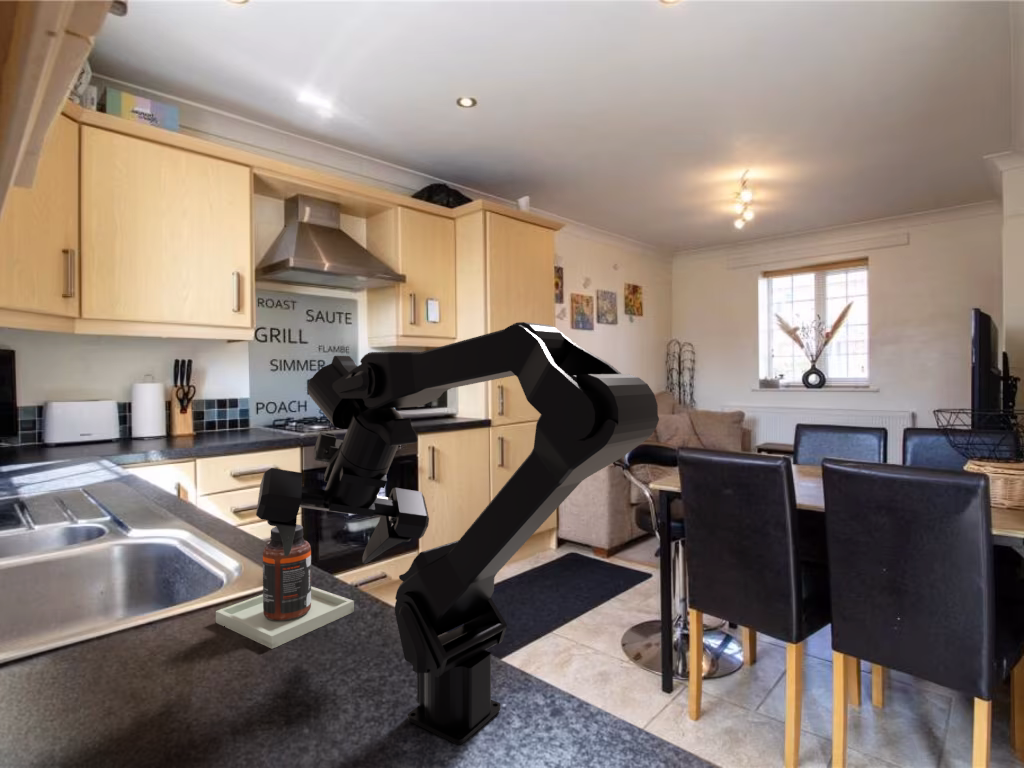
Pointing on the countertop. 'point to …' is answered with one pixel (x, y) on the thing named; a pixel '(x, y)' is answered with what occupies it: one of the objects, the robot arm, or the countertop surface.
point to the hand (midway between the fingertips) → (326, 557)
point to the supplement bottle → (286, 577)
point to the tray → (277, 632)
